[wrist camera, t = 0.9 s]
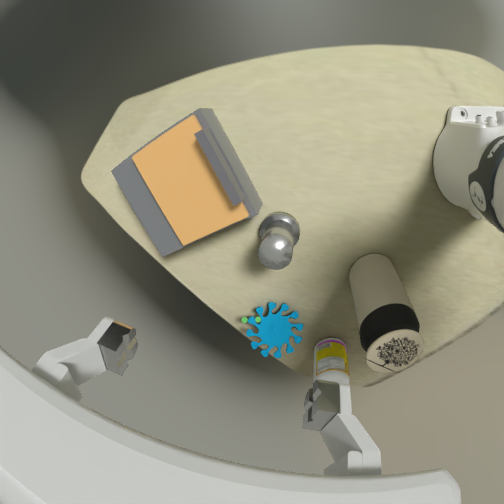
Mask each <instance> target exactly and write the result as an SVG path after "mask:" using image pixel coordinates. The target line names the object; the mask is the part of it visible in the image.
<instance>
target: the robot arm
mask: <svg viewBox="0 0 504 504" xmlns="http://www.w3.org/2000/svg"><path fill="white" fill-rule="evenodd" d="M461 111H462V113H463V115H462V116H461ZM433 166H434V174H435V178H436V182H437V184H438V187H439V189H440V191H441V192H442V194H443V195H444V196H445V197H446V199H447V200H449V201H450V202H451V203H453V204H454V205H456V206H459V207H462V208H464V209H466V210H467V211H468V212H469V213H470V214H471V215H472V216H473V217H475V218H476V219H481V218H482V219H484V220H486V221H488V222H489V223H491V224H493V225H494V226H495V227H497V229H498V230H499V231H501V232H503V233H504V106H476V105H466V106H451V107H450V108H449V110H448V115H447V122H446V126H445V128H444V129H443V131H442V133H441V134H440V136H439V138H438V140H437V143H436V146H435V150H434V158H433ZM135 335H136V329H135V328H132V327H130V326H128V325H126V324H123V323H121V322H119V321H116V320H114V319H112V318H109V317H105V318H103V320H102V321H101V322H100V323H99V324H98V326H97V327H96V328H95V329H94V331H93V332H92V333H91V334H90V336H89V337H88V338H83V339H80V340H77V341H75V342H72V343H69V344H67V345H64V346H62V347H59V348H56V349H54V350H51V351H48V352H46V353H45V354H44V355H43V356H42V357H41V359H40V360H39V361H38V362H37V364H36V365H35V366H34V367H33V369H32V370H30V369H29V368H27V367H26V366H24V365H23V364H22V363H21V362H19V361H18V360H17V359H15V358H14V357H13V356H12V355H11V354H9V353H8V352H7V351H6V350H5V349H3V348H2V347H1V346H0V504H461V493H460V488H459V485H458V484H457V482H456V481H455V480H454V479H453V478H452V476H451V475H450V474H449V473H448V472H447V471H446V470H445V469H442V468H440V469H439V468H438V469H432V470H425V471H418V472H410V473H402V474H389V475H381V456H380V450H379V449H378V447H377V446H376V445H375V443H374V442H373V440H372V439H371V438H370V436H369V435H368V433H367V432H366V431H365V429H364V428H363V426H362V425H361V424H360V422H359V421H358V420H357V418H356V417H355V415H352V410H351V396H350V386H349V384H342V383H337V382H331V381H324V380H318V379H317V380H315V382H314V383H313V388H311V389H309V391H308V392H307V395H306V398H305V402H304V408H305V410H306V413H305V415H304V416H303V427H302V428H304V429H310V430H316V431H320V433H321V435H322V437H323V439H324V441H325V443H326V445H327V447H328V449H329V451H330V453H331V455H332V457H333V459H334V461H335V462H334V463H333V464H331V465H330V466H328V467H327V468H325V469H324V475H317V474H305V473H295V472H286V471H280V470H273V469H266V468H260V467H255V466H250V465H245V464H240V463H235V462H231V461H227V460H223V459H219V458H215V457H212V456H208V455H204V454H201V453H198V452H194V451H191V450H188V449H185V448H182V447H179V446H176V445H173V444H170V443H167V442H164V441H162V440H159V439H156V438H154V437H151V436H149V435H146V434H144V433H142V432H139V431H137V430H135V429H132V428H130V427H128V426H125V425H123V424H121V423H119V422H117V421H115V420H113V419H111V418H109V417H107V416H105V415H103V414H101V413H99V412H97V411H95V410H93V409H91V408H89V407H88V406H86V405H84V404H82V403H81V402H79V401H80V400H81V398H82V396H81V393H80V391H79V389H78V387H77V386H79V385H80V384H82V383H84V382H86V381H88V380H89V379H91V378H93V377H95V376H97V375H98V374H100V373H102V372H104V371H106V369H108V370H110V371H112V372H114V373H117V374H119V375H121V376H122V375H123V373H124V371H125V370H126V368H127V367H128V360H130V359H132V358H133V357H134V355H135V353H136V350H137V344H138V343H137V339H136V338H135V337H134V336H135Z"/></svg>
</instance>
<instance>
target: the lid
mask: <svg viewBox="0 0 504 504" xmlns="http://www.w3.org/2000/svg"><path fill="white" fill-rule="evenodd" d="M132 159H133V161H134V163H135V164H136V166H137V168H138V170H139V172H140V173H141V175H142V177H143V179H144V180H145V182H146V184H147V186H148V187H149V189H150V191H151V193H152V194H153V196H154V198H155V200H156V201H157V203H158V205H159V206H160V208H161V210H162V211H163V213H164V215H165V216H166V218H167V220H168V221H169V223H170V225H171V226H172V228H173V230H174V231H175V233H176V235H177V236H178V238H179V240H180V241H181V243H182V244H183V246H184V245H187V244H189V243H191V242H193V241H195V240H197V239H200V238H202V237H204V236H206V235H208V234H211V233H213V232H215V231H217V230H220V229H222V228H224V227H226V226H229V225H231V224H233V223H235V222H238V221H240V220H242V219H244V218H247V217H248V216H249V213H248V211H247V209H246V207H245V206H244V204H243V202H242V201H243V200H244V199H245V196H244V194H243V192H242V190H241V188H240V186H239V184H238V183H237V181H236V179H235V177H234V175H233V173H232V171H231V170H230V168H229V166H228V164H227V162H226V160H225V159H224V157H223V155H222V153H221V151H220V149H219V148H218V146H217V144H216V142H215V140H214V139H213V137H212V135H211V133H210V131H209V129H208V128H206V129H202V127H201V125H200V123H199V122H198V120H197V118H196V116H195V115H192V116H190V117H189V118H187V119H186V120H184V121H182V122H181V123H179V124H178V125H176V126H175V127H173V128H172V129H170V130H169V131H167V132H166V133H164V134H163V135H161V136H160V137H158V138H157V139H156V140H154V141H153V142H151V143H150V144H148V145H147V146H146V147H144V148H143V149H142V150H140V151H139V152H138V153H136V154H135V155H134V156H132Z"/></svg>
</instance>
